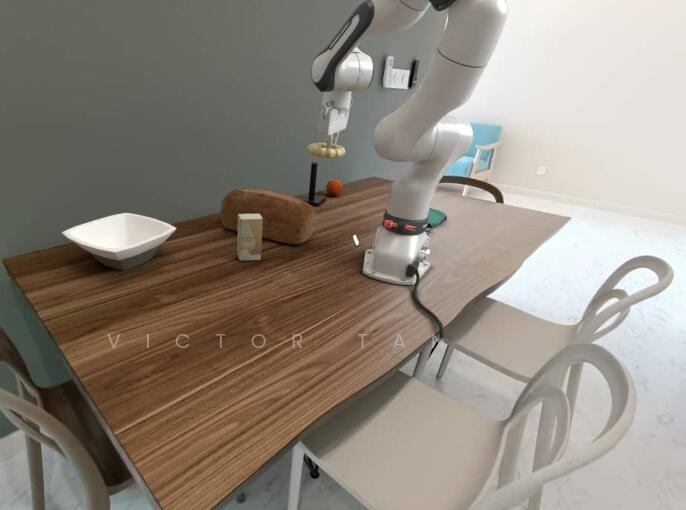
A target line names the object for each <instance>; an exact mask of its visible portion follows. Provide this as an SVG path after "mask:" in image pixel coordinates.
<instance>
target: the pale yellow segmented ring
mask: <svg viewBox="0 0 686 510" xmlns="http://www.w3.org/2000/svg"><path fill="white" fill-rule="evenodd" d="M307 152H308V153H309V155H311V156H314V157H317V158H323V159H338V158H341V157H343V156H345V154H346V149H345V147H344V146H343V145H339V144H337V143H336V144H333V145H332V147H331V148H326V142H313V143H310V144H308V146H307Z"/></svg>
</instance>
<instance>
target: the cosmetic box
mask: <svg viewBox="0 0 686 510" xmlns="http://www.w3.org/2000/svg"><path fill="white" fill-rule="evenodd" d="M262 223H263V218H262V216H261V215H260V214H238V231H237V245H236V246H237V247H236V249H237V253H236V255H237V258H238V260H239V262H242V261H261V260H262V242H263V238H262Z"/></svg>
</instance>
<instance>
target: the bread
mask: <svg viewBox="0 0 686 510" xmlns="http://www.w3.org/2000/svg"><path fill="white" fill-rule="evenodd" d="M220 204H221V208H220V218H221V224H222V226H223V227H224V228H225V229H227V230H230V231H233V232H238V214H260V215H261V216H262V218H263V223H262V239H268V240H272V241H276V242H280V243H282V244H286V245H296V246H297V245H302V244H303V243H305V242H306V241H308V240H309V239H310V238H311V237H312V236H313V231H314V222H315V221H314V218H315V215H316V211H315V208H314V206H311V205H310V204H308V203H307V202H305V201H303V200H301V199H298V197H296V196H292V195H289V194H286V193H283V192H279V191H275V190H273V189H272V190H271V189H264V188H263V189H262V188H247V187H241V188H236V189H232V190H230V191H229V192H228V193H227V194H225V196H224V197H223V199H222V200H221V203H220Z"/></svg>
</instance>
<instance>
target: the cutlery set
mask: <svg viewBox="0 0 686 510" xmlns="http://www.w3.org/2000/svg"><path fill="white" fill-rule="evenodd" d="M428 217H429V219H428V225H429V224H430V226H431V227H432V228H429V227H427V228H426V230H425V232H426V235H427V236H428V237H429V234H431V232H433V231H434V229H433V228H435V227H437V226H439V224H442V223H445V222H446V221H447V220H448V216H447V213H445V212H443V211H441V210H440V209H434V208H431V207H430V208H429V212H428Z"/></svg>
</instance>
